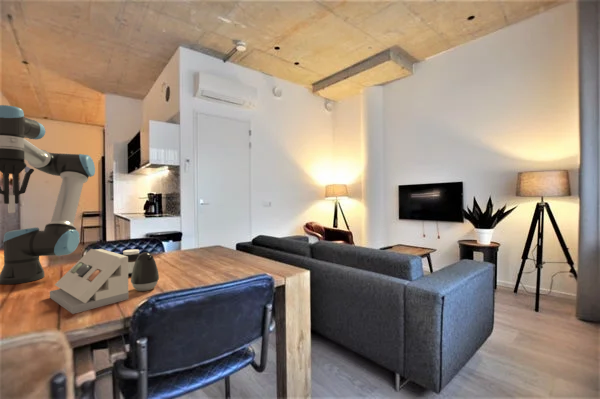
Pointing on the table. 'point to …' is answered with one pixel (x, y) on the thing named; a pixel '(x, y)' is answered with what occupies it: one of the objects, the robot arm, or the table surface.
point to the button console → (94, 282)
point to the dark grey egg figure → (144, 273)
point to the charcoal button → (83, 270)
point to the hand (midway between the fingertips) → (11, 212)
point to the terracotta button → (94, 275)
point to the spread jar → (131, 259)
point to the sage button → (76, 267)
